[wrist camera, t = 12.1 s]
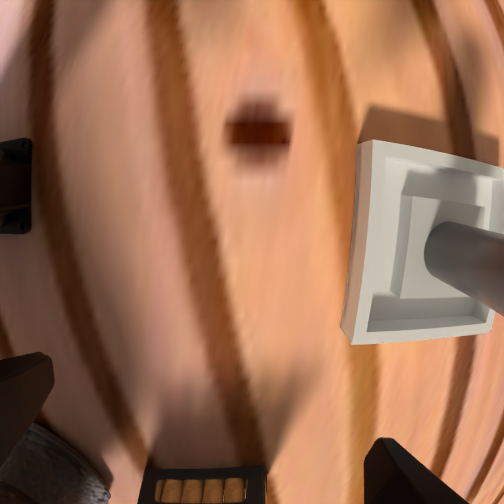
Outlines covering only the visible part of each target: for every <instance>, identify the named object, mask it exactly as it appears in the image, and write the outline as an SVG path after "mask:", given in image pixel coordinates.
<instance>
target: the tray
mask: <svg viewBox="0 0 504 504" xmlns="http://www.w3.org/2000/svg"><path fill="white" fill-rule="evenodd" d="M401 195H407V196H416V197H423V198H431V199H438V200H445V201H452V202H458V203H464V204H471V205H477V206H483V207H485V214H484V224H483V229H485V230H488V231H492V232H496V233H500V234H504V168H501V167H497V166H494V165H490V164H487V163H483V162H479V161H475V160H472V159H468V158H464V157H460V156H455V155H451V154H447V153H442V152H438V151H433V150H429V149H424V148H419V147H414V146H408V145H403V144H398V143H392V142H386V141H380V140H374V139H372V140H369V141H366V142H363V143H360V144H357V161H356V182H355V198H354V212H353V225H352V236H351V247H350V256H349V266H348V274H347V283H346V291H345V298H344V305H343V312H342V319H341V326H340V328H341V329H342V331H343V332H344V334H345V335H346V337H347V338H348V340H349V341H350V343H351V345H359V344H378V343H394V342H407V341H419V340H430V339H440V338H449V337H458V336H466V335H474V334H481V333H488V332H490V331H491V327H492V323H493V320H494V316H495V312H496V311H494V310H492V309H491V308H489V307H487V306H485V305H484V304H482V303H480V302H478V301H477V300H475V299H473V298H471V297H446V298H407V299H400V298H398V297H397V296H396V295H394V294H393V293H392V292H391V291H390V286H391V279H392V272H393V265H394V258H395V250H396V241H397V232H398V222H399V211H400V198H401Z"/></svg>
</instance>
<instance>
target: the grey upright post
mask: <svg viewBox="0 0 504 504" xmlns="http://www.w3.org/2000/svg"><path fill="white" fill-rule="evenodd" d="M484 214H485V207H483V206H477V205H471V204H464V203H458V202H452V201H445V200H438V199H431V198H423V197H416V196H407V195H401V198H400V211H399V222H398V232H397V241H396V250H395V258H394V265H393V272H392V279H391V286H390V291H391V292H392V293H393V294H394V295H396V296H397V297H398V298H400V299H407V298H446V297H471V298H473V299H475V300H477V301H478V302H480V303H482V304H484V305H485V306H487V307H489V308H491V309H492V310H494V311H496V312H497V313H499V314H501V315H502V316H504V234H500V233H496V232H492V231H488V230H485V229H483V224H484Z"/></svg>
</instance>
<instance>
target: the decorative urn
mask: <svg viewBox="0 0 504 504" xmlns="http://www.w3.org/2000/svg"><path fill="white" fill-rule="evenodd" d="M110 497H111V494H110V492H109V490H108V488H107V486H106V485H105V483H104V481H103V480H102V478H101V477H100V476H99V474H98V473H97V472H96V471H95V469H94V468H93V467H92V466H91V465H90V464H89V463H88V462H87V460H86V459H85V458H83V457H82V456H81V455H80V454H79V453H78V452H77V451H75V450H74V449H73V448H72V447H70V446H69V445H68V444H67V443H65V442H64V441H63V440H61V439H60V438H58V437H57V436H56V435H54V434H53V433H51V432H50V431H48V430H47V429H45V428H44V427H42V426H40V425H38V424H36V423H35V422H33V423H32V425H31V426H30V427H29V429H28V430H27V432H26V433H25V435H24V436H23V437H22V439H21V440H20V441H19V443H18V444H17V446H16V447H15V449H14V450H13V451H12V453H11V454H10V456H9V457H8V459H7V460H6V461H5V463H4V464H3V466H2V467H1V469H0V504H108V500H109V499H110Z"/></svg>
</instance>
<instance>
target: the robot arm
mask: <svg viewBox="0 0 504 504" xmlns="http://www.w3.org/2000/svg"><path fill="white" fill-rule="evenodd" d="M25 143H26V147H25V148H24V145H25ZM31 156H32V141H31V139H29V138H21V139H15V140H10V141H4V142H0V234H25V233H28V232H30V230H31ZM24 224H25V229H24ZM54 382H55V379H54V371H53V362H52V359H51V357H49V356H48V355H45V354H43V353H41V352H36V353H31V354H26V355H22V356H17V357H12V358H8V359H3V360H0V469H1V467H2V466H3V464H4V463H5V461H6V460H7V459H8V457H9V456H10V454H11V453H12V451H13V450H14V449H15V447H16V446H17V444H18V443H19V441H20V440H21V439H22V437H23V436H24V435H25V433H26V432H27V430H28V429H29V427H30V426H31V425H32V423H33V421H34V420H35V418H36V416H37V414H38V413H39V411H40V409H41V407H42V406H43V404H44V402H45V400H46V399H47V397H48V395H49V394H50V392H51V390H52V388H53V386H54ZM364 504H469V503H468V502H467V501H465V500H464V499H463V498H462V497H461V496H459V495H458V494H457V493H456V492H455V491H453V490H452V489H451V488H450V487H449V486H447V485H446V484H445V483H444V482H443V481H441V480H440V479H439V478H438V477H437V476H436V475H434V474H433V473H432V472H431V471H430V470H429V469H427V468H426V467H425V466H424V465H423V464H422V463H420V462H419V461H418V460H417V459H416V458H415V457H413V456H412V455H411V454H410V453H409V452H408V451H407V450H405V449H404V448H403V447H402V446H401V445H400V444H399V443H398V442H396V441H395V440H394V439H393V438H384V437H380V438H378V439H377V440H376V441H375V442H374V444H373V446H372V447H371V449H370V451H369V452H368V454H367V455H366V457H365V460H364Z"/></svg>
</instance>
